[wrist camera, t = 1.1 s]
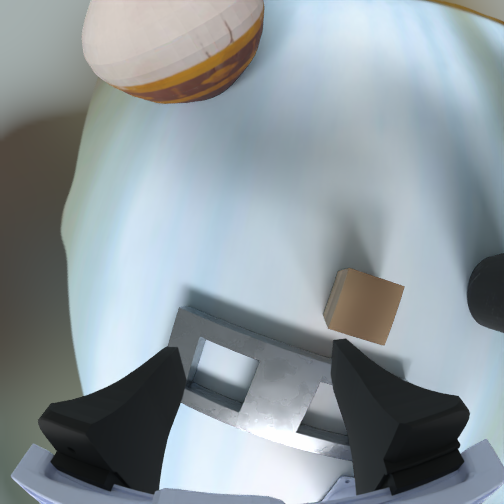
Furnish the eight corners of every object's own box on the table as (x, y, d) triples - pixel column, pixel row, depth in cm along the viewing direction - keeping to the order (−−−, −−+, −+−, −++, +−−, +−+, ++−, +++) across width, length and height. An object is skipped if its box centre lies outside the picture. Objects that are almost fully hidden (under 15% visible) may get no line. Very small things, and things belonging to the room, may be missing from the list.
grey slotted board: (405, 379, 21) (412, 386, 19) (364, 453, 21) (367, 463, 19) (188, 305, 26) (179, 307, 24) (165, 383, 26) (156, 389, 24)
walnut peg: (379, 285, 23) (404, 286, 16) (364, 328, 22) (384, 345, 16) (337, 271, 23) (348, 267, 17) (323, 315, 23) (328, 328, 16)
